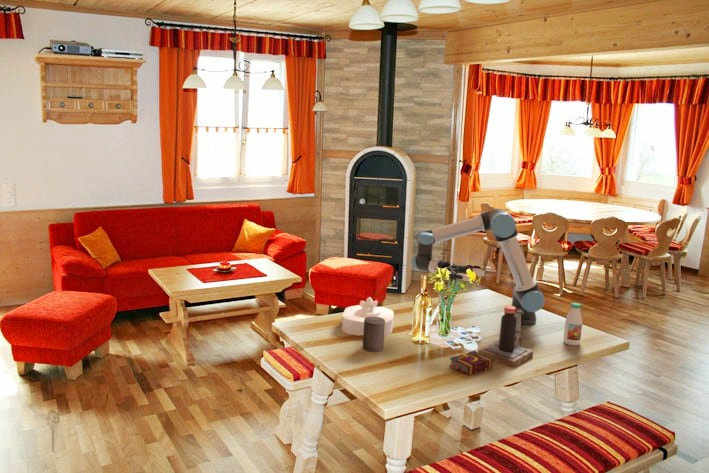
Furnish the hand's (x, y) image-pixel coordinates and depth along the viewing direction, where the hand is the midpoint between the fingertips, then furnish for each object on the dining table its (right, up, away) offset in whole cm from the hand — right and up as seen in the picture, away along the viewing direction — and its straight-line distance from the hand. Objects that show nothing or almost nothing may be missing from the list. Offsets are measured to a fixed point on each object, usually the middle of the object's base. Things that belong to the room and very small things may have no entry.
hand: (476, 276), depth 296 cm
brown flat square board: (+11, -36, -12) cm, 39 cm away
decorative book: (-8, -38, -27) cm, 47 cm away
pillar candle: (-50, -33, -9) cm, 60 cm away
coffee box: (+19, -33, +6) cm, 38 cm away
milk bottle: (+48, -33, +8) cm, 59 cm away
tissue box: (-52, -27, +18) cm, 61 cm away
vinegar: (+11, -33, -12) cm, 37 cm away
